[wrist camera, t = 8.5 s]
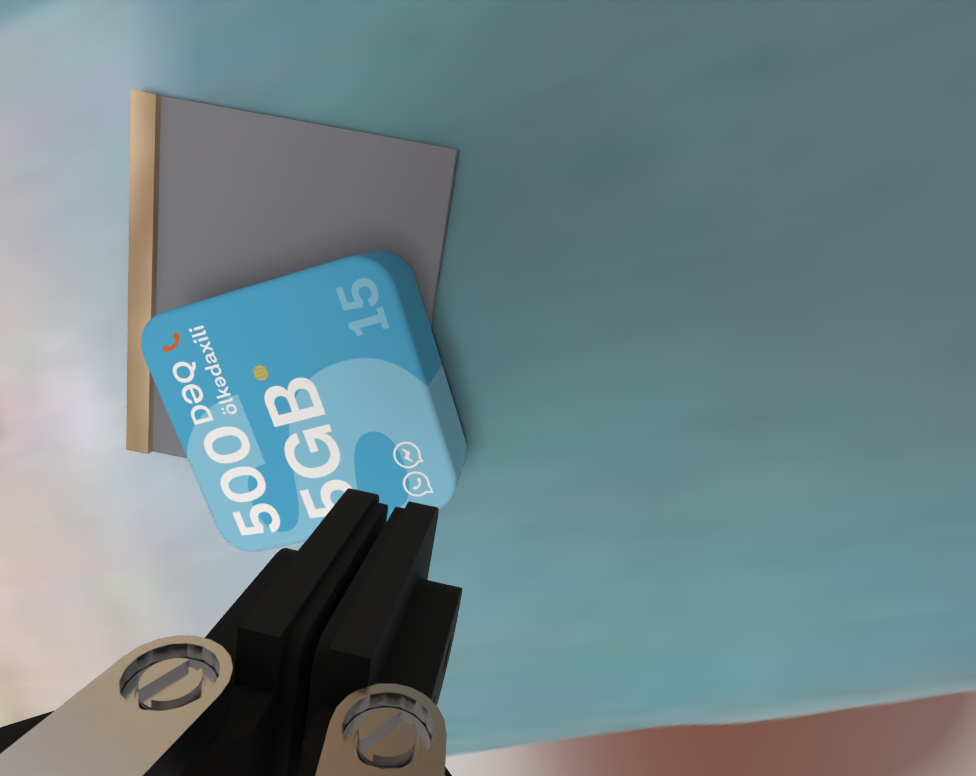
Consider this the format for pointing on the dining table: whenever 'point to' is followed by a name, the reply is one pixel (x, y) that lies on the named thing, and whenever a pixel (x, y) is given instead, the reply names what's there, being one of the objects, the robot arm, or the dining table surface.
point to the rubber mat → (286, 206)
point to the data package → (308, 397)
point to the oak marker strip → (142, 262)
